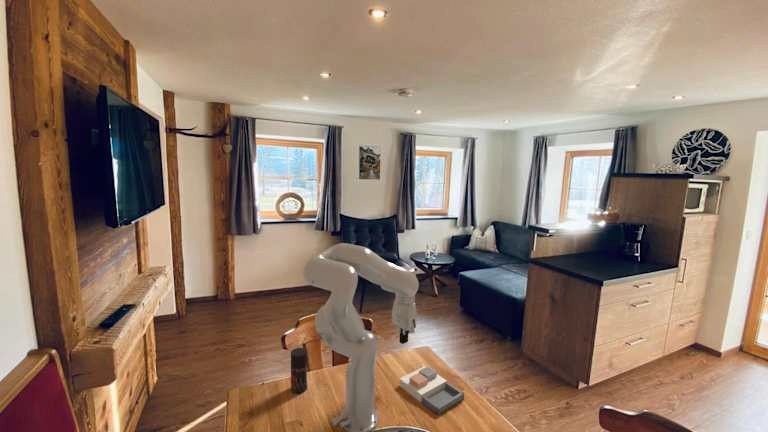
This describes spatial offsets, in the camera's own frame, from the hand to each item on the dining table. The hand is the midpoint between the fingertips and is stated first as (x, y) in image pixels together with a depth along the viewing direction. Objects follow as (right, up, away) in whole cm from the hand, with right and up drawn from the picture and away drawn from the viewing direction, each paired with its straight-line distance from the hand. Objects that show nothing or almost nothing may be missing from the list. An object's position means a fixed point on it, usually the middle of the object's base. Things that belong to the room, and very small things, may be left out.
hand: (403, 342), depth 135 cm
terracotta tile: (+5, -13, -6) cm, 16 cm away
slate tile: (+9, -13, -1) cm, 16 cm away
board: (+7, -16, -3) cm, 18 cm away
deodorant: (-40, -15, -7) cm, 43 cm away
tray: (+14, -17, -11) cm, 25 cm away
